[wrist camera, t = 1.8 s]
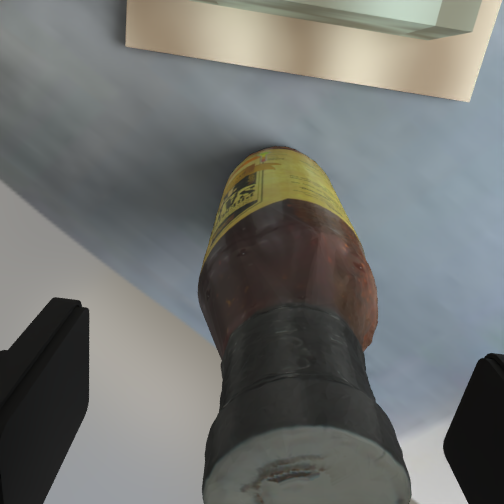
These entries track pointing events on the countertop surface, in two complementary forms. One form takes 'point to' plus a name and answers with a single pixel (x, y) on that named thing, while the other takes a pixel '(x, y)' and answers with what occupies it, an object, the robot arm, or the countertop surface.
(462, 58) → the tray
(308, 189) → the sauce bottle
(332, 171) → the countertop surface
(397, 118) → the countertop surface
